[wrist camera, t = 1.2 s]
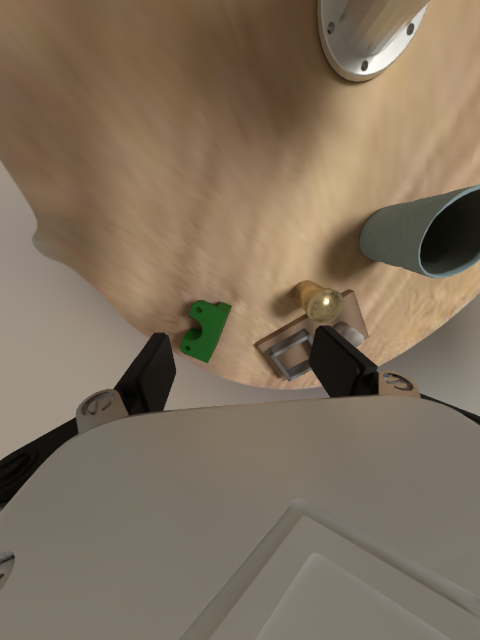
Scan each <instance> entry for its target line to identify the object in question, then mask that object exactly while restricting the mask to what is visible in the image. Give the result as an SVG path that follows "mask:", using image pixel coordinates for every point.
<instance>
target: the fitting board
mask: <svg viewBox="0 0 480 640" xmlns="http://www.w3.org/2000/svg"><path fill="white" fill-rule="evenodd" d="M341 295H342V297H343V300H344V306H343V309H342V311H341V313H340V314H339V316H338V317H337V318H335V319H334V320H333V321H331V322H328V323H325V324H318V323H315V322H313V321H312V320H311V319H310V318H309V317H308V316H307V314H305V315H303V316H301V317H300V318H298V319H296V320H294V321H293V322H291V323H289V324H287V325H286V326H284V327H282V328H280V329H279V330H277V331H275V332H274V333H272V334H270V335H268V336H267V337H265V338H263V339H261V340H260V341H258V342H257V346H258V347H259V349H260V350H261V351H262V353H263V354H264V355H265V357H266V358H267V359H268V361H269V362H270V364H271V365H272V366H273V368H274V369H275V370H276V372H277V373H278V374H279V376H280V377H281V378H282V380H283V381H285V380H288V381H291V380H293V379H295V378H297V377H299V376H301V375H303V374H305V373H306V372H308V371H310V370H312V369H311V367H310V365H309V358H310V353H311V348H312V344H313V339H314V335H315V330H316V328H318V327H319V326H321V325H329V326H331V327H332V328H333V329H334V330H336V331H337V332H338V333H339V334H340V335H341V336H343V337H344V338H345V339H346V340H347V341H348V342H350V343H351V344H352V345H353V346H354V347H357V346H359V345H360V344H361V343H362V342H363V340H365V339H367V338H369V336H368V333H367V330H366V326H365V323H364V320H363V317H362V314H361V311H360V308H359V305H358V302H357V299H356V296H355V293H354V291H352V290H350V289H348V290H347V291H345V292H343V293H341Z"/></svg>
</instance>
